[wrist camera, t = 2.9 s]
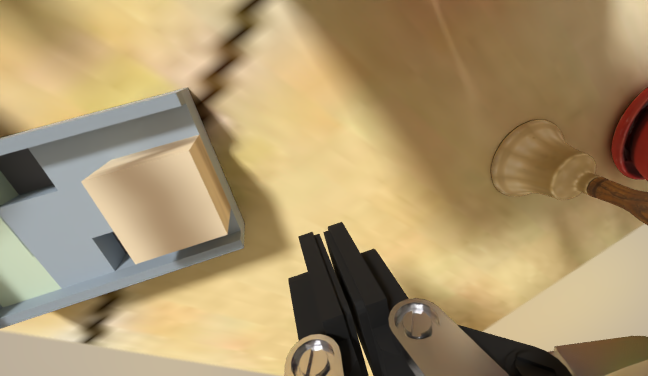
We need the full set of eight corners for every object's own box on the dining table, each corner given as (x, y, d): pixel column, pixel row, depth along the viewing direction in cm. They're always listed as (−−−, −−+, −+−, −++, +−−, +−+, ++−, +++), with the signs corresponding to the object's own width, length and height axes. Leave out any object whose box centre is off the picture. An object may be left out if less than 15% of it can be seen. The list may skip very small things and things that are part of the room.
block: (199, 134, 21) (188, 150, 17) (230, 207, 23) (227, 234, 20) (111, 159, 20) (80, 181, 17) (153, 232, 23) (135, 264, 19)
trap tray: (187, 87, 22) (167, 96, 16) (244, 223, 27) (243, 264, 22) (-100, 164, 20) (-231, 203, 14) (21, 295, 25) (-42, 360, 20)
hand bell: (515, 208, 34) (711, 319, 19) (475, 168, 30) (678, 265, 16) (572, 151, 32) (829, 224, 18) (537, 101, 29) (819, 143, 15)
